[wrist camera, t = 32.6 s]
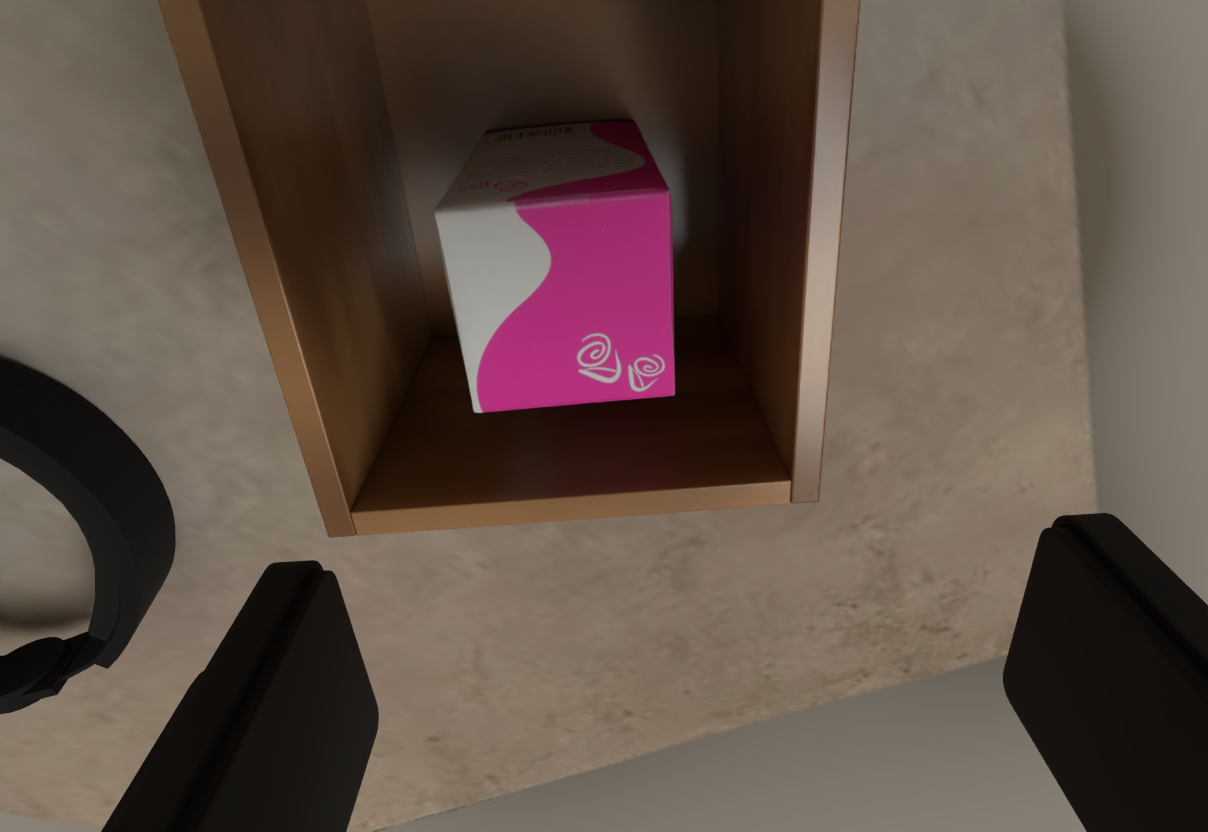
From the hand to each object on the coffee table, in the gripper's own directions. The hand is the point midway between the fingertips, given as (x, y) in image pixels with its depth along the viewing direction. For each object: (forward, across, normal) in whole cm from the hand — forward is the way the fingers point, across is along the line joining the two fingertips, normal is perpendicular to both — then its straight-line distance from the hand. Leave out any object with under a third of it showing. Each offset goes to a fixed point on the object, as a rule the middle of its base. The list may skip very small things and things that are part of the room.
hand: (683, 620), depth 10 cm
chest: (+22, +2, -2) cm, 22 cm away
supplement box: (+22, +2, -1) cm, 22 cm away
